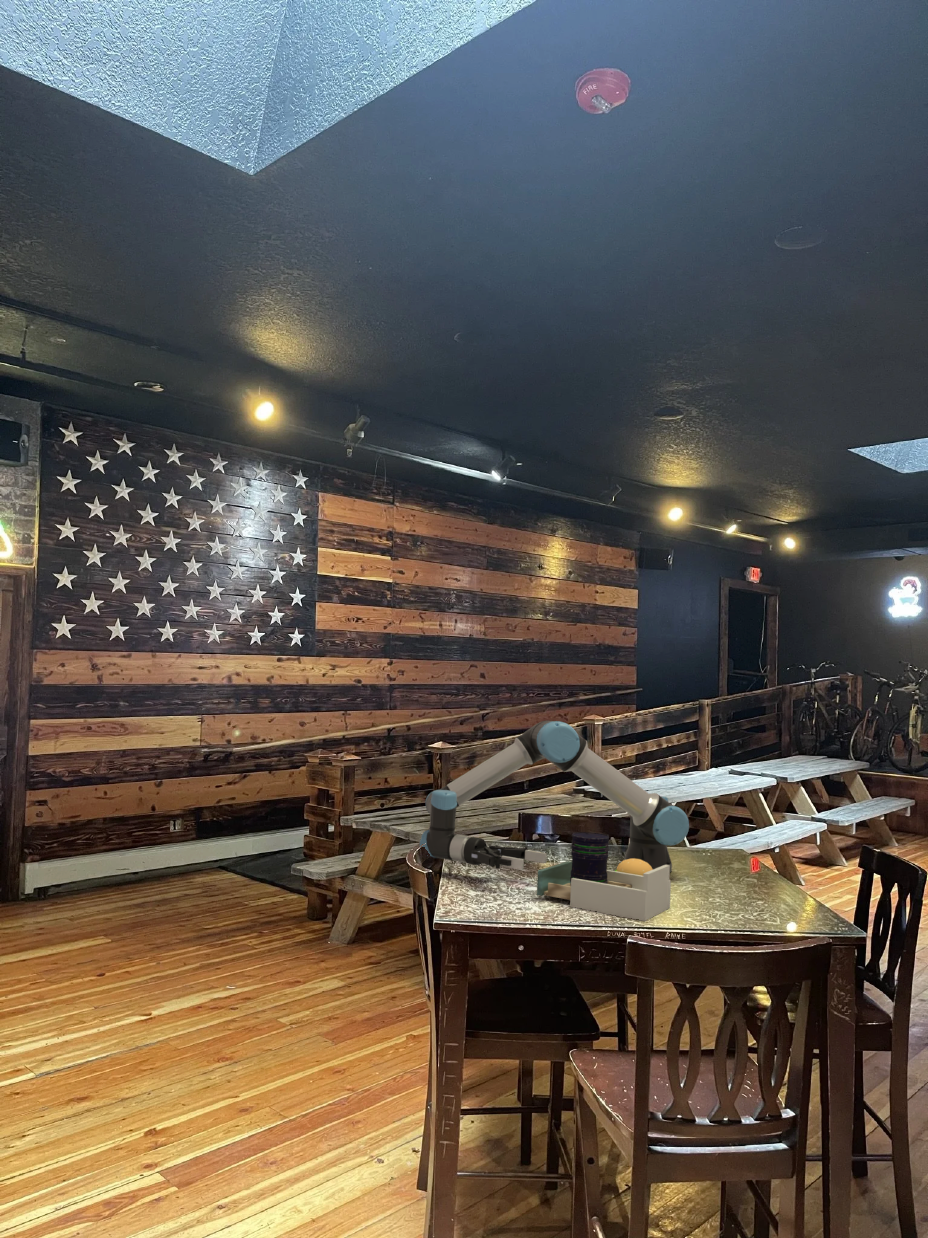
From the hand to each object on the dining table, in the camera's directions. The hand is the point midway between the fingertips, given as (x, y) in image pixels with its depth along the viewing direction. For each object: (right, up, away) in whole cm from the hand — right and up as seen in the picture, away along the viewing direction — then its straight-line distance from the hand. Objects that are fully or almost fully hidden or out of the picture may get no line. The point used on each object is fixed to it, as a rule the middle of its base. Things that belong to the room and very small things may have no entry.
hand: (534, 861), depth 238 cm
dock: (+21, -8, -14) cm, 26 cm away
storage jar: (+13, -6, -9) cm, 17 cm away
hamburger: (+29, -10, +7) cm, 31 cm away
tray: (+13, -7, -9) cm, 17 cm away
